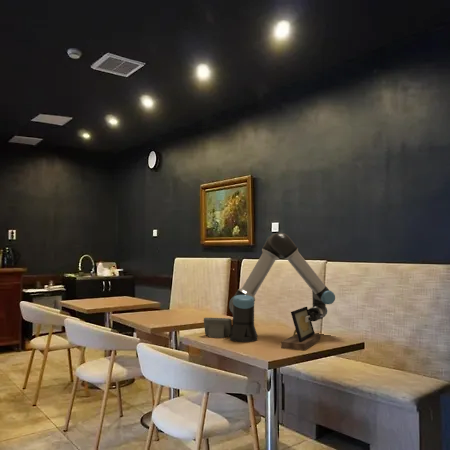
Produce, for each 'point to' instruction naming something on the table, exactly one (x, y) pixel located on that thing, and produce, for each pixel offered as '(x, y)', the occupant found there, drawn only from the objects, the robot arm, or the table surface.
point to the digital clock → (217, 327)
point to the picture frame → (302, 324)
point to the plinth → (303, 345)
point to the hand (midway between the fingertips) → (301, 319)
